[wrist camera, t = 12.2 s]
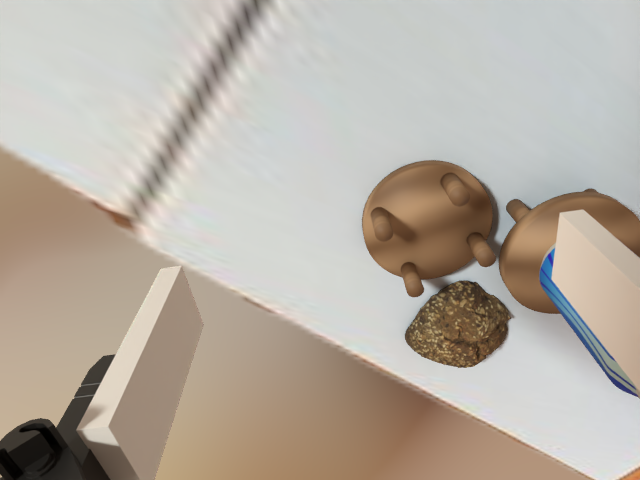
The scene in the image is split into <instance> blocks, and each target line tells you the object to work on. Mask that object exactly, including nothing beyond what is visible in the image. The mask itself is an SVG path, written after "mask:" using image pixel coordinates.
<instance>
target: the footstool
mask: <svg viewBox="0 0 640 480" xmlns="http://www.w3.org/2000/svg"><path fill="white" fill-rule="evenodd" d="M506 210H507V212H508V213H509V214H510V215H511V217H512V218H513V219H514V220H515V222H516V224H515V225H514V226H513V228H512V229H511V230H510V231H509V233H508V235H507V236H506V238H505V240H504V242H503V245H502V247H501V251H500V256H499V270H500V275H501V277H502V280H503V281H504V283H505V285H506V286H507V288H508V290H509V291H510V293H511V294H512V296H513V297H514V298H515V299H516V300H517V301H518V302H519V303H520V304H522V305H523V306H525V307H527V308H529V309H532V310H534V311H538V312H542V313H549V314H560V312H559V310H558V309H557V308H556V306H555V305H554V303H553V302H552V301H551V299H550V298H549V297H548V295H547V294H546V293H545V291H544V290H543V288H542V286H541V284H540V280H539V272H540V268H541V264H542V261H543V258H544V256H545V254H546V252H547V251H548V250H549V249H550V247H551V246H552V245H554V244H555V243H556V238H557V231H558V223H559V215H560V213H561V212H568V211H576V210H584V211H586V212H587V213H588V214H589V215H590V216H591V217H593V218H594V219H595V220H596V221H597V222H598V223H599V224H601V225H602V226H603V227H604V228H605V229H606V230H608V231H609V232H610V233H611V234H612V235H613V236H615V237H616V238H617V239H618V240H619V241H621V242H622V243H623V244H624V245H625V246H626V247H628V248H629V249H630V250H631V251H632V252H633V253H635V254H636V255H637V256H638V257H639V258H640V221H639V219H638V218H637V216H636V215H635V214H634V213H633V212H632V211H630V210H629V209H628V208H626V207H625V206H624V205H622V204H621V203H620V202H618V201H617V200H615V199H613V198H611V197H609V196H607V195H604V194H601V193H598V192H597V191H596V190H594V189H587V190H585V191H584V192H574V193H569V194H564V195H561V196H557V197H554V198H552V199H550V200H547V201H545V202H543V203H541V204H540V205H538V206H536V207H535V208H533V209H532V210H529V209H528V208H527V207H526V206H525V205H524V204H523V203H522V202H521V201H520V200H518V199H514V200H511V201H510V202H509V203H508V204H507V206H506Z"/></svg>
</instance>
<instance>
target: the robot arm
mask: <svg viewBox="0 0 640 480" xmlns="http://www.w3.org/2000/svg"><path fill="white" fill-rule="evenodd" d="M551 279H552V281H553V282H554V283H555V284H556V286H557V287H558V288H559V289H560V291H561V292H562V293H563V295H564V296H565V297H566V298H567V300H568V301H569V302H570V303H571V305H572V306H573V307H574V309H575V310H576V311H577V312H578V314H579V315H580V316H581V317H582V319H583V320H584V321H585V323H586V324H587V325H588V326H589V328H590V329H591V330H592V331H593V333H594V334H595V335H596V337H597V338H598V339H599V340H600V342H601V343H602V344H603V345H604V347H605V348H606V349H607V351H608V352H609V353H610V354H611V356H612V357H613V358H614V359H615V361H616V362H617V363H618V364H619V366H620V367H621V368H622V370H623V371H624V372H625V373H626V375H627V376H628V377H629V378H630V380H631V381H632V382H633V384H634V385H635V386H636V387H637V389H638V390H639V391H640V258H639V257H638V256H637V255H635V254H634V253H633V252H632V251H631V250H630V249H628V248H627V247H626V246H625V245H624V244H623V243H622V242H620V241H619V240H618V239H617V238H616V237H615V236H613V235H612V234H611V233H610V232H609V231H608V230H606V229H605V228H604V227H603V226H602V225H601V224H599V223H598V222H597V221H596V220H595V219H594V218H593V217H591V216H590V215H589V214H588V213H587V212H586V211H584V210H576V211H568V212H561V213H560V215H559V223H558V231H557V238H556V246H555V254H554V262H553V270H552V278H551ZM203 325H204V324H203V322H202V319H201V316H200V314H199V311H198V308H197V306H196V303H195V300H194V297H193V295H192V292H191V289H190V287H189V284H188V281H187V279H186V276H185V273H184V271H183V268H182V266H176V267H169V268H162V269H161V270H160V271H159V273H158V275H157V277H156V279H155V281H154V283H153V285H152V287H151V288H150V290H149V292H148V294H147V296H146V298H145V300H144V302H143V304H142V306H141V308H140V309H139V312H138V313H137V315H136V317H135V319H134V321H133V323H132V325H131V327H130V329H129V330H128V332H127V334H126V336H125V338H124V340H123V342H122V344H121V346H120V347H119V350H118V352H117V353H116V354H115V355H107V356H103V357H102V358H101V359H100V360H99V361H98V362H97V363H96V364H95V365H94V366H93V367H92V368H91V369H90V370H89V371H88V373H87V375H86V377H85V378H84V380H83V382H82V384H81V387H79V389H78V391H77V392H76V394H75V396H74V397H75V398H74V399H73V400H72V401H71V403H70V405H69V406H68V408H67V410H66V412H65V413H64V415H63V417H62V419H61V420H60V422H59V424H58V426H57V427H55V426H54V424H53V423H52V422H51V421H50V420H48V419H42V418H40V419H35V420H30V421H28V422H26V423H24V424H21V425H20V426H17V427H16V428H15V429H13V430H12V431H11V432H9V433H8V434H7V435H6V436H5V437H4V438H3V439H2V440H1V441H0V474H1V475H2V478H0V480H154V479H155V476H156V473H157V470H158V467H159V464H160V460H161V457H162V454H163V451H164V448H165V445H166V441H167V438H168V435H169V432H170V429H171V426H172V423H173V420H174V416H175V413H176V410H177V407H178V404H179V400H180V397H181V394H182V391H183V388H184V385H185V381H186V379H187V375H188V372H189V369H190V366H191V363H192V360H193V356H194V353H195V350H196V347H197V344H198V341H199V338H200V335H201V331H202V328H203Z"/></svg>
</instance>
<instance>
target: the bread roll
mask: <svg viewBox="0 0 640 480" xmlns="http://www.w3.org/2000/svg"><path fill="white" fill-rule="evenodd" d="M509 319H511V318H510V317H509V314H508V310H507V309H506V308H505V306H504V305H503V304H502V303H501V302H500V301H499V300H498V298H496V297H495V296H494V295H490V294H488V293H486V292H485V291H484V290H482V289H481V288H480V286H479V285H478V284H477V283H476V282H474V283H473V282H469V281H458V282H456V283H453V284H451V285H449V286H448V287H446V288H444V289H443V290H441V291H440V292H439V293H438V294H435V295H433V296H432V297H431V298H430V299H429V301H427V302H426V304H425V305H424V306H423V307H422V308H421V309H420V311H419V313H418V314H417V316H416V318H415V319H414V320H413V322H412V323H411V325H410V326H409V327H408V329H407V330H406V333H405V340H406V342H407V344H408V345H409V346H410V347H411V348H412V349H413V350H414V351H415V352H417V353H418V354H420V355H421V356H422V357H424V358H427V359H430V360H432V361H435V362H437V363H442V364H444V365H450V366H454V367H456V366H457V367H458V368H461V367H464V368H467V367H473V366H475V365H477V364H478V363H480V362H481V361H482V360H484V359H485V358H486V355H488V354H491V353H492V352H493V351H494V350H496V348H498V347H499V345H501V344H502V342H503V341H504V339H505V336H506V334H507V331H508V329H507V326H506V322H507V320H509Z"/></svg>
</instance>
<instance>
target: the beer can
mask: <svg viewBox="0 0 640 480" xmlns="http://www.w3.org/2000/svg"><path fill="white" fill-rule="evenodd" d="M620 242H621V241H620ZM555 246H556V243H555V244H554V245H552V246H551V247H550V249H549V250H548V251H547V252H546V254H545V256H544V258H543V261H542V264H541V268H540V272H539V280H540V284H541V286H542V288H543V290H544V291H545V293H546V294H547V295H548V297H549V298H550V299H551V301H552V302H553V303H554V305H555V306H556V308H557V309H558V310H559V312H560V313H561V314H562V316H563V317H564V318H565V320H566V321H567V322H568V324H569V325H570V326H571V328H572V329H573V330H574V332H575V333H576V335H577V336H578V337H579V339H580V340H581V341H582V343H583V344H584V345H585V347H586V348H587V349H588V351H589V352H590V353H591V355H592V356H593V357H594V359H595V360H596V362H597V363H598V364H599V366H600V367H601V368H602V370H603V371H604V372H605V374H606V375H607V376H608V378H609V379H610V380H611V382H612V383H613V384H614V385H615V386H616V387H618V388H619V389H621V390H623V391H625V392H627V393H629V394H632V395H634V396H637V397H639V398H640V391H639V390H638V389H637V387H636V386H635V385H634V384H633V382H632V381H631V380H630V378H629V377H628V376H627V375H626V373H625V372H624V371H623V370H622V368H621V367H620V366H619V364H618V363H617V362H616V361H615V359H614V358H613V357H612V356H611V354H610V353H609V352H608V351H607V349H606V348H605V347H604V345H603V344H602V343H601V342H600V340H599V339H598V338H597V337H596V335H595V334H594V333H593V331H592V330H591V329H590V328H589V326H588V325H587V324H586V323H585V321H584V320H583V319H582V317H581V316H580V315H579V314H578V312H577V311H576V310H575V309H574V307H573V306H572V305H571V303H570V302H569V301H568V300H567V298H566V297H565V296H564V295H563V293H562V292H561V291H560V289H559V288H558V287H557V286H556V284H555V283H554V282H553V281H552V279H551V278H552V270H553V262H554V254H555ZM627 248H628V247H627ZM628 249H629V248H628ZM634 254H635V253H634ZM635 255H636V254H635Z"/></svg>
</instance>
